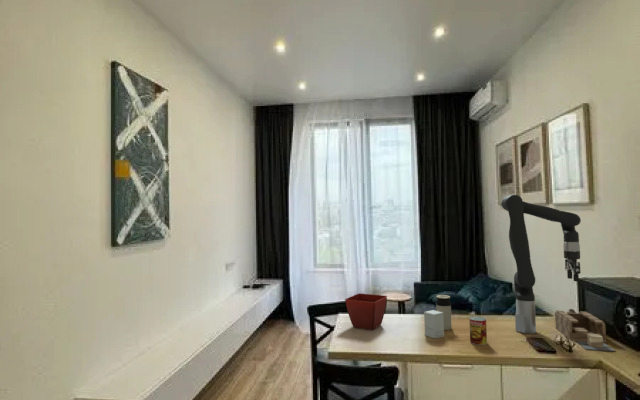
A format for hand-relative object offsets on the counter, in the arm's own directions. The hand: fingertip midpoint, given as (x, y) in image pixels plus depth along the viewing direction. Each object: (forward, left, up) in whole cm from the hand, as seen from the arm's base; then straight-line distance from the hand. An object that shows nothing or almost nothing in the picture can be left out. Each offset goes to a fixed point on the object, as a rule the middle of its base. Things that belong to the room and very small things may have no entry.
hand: (573, 279), depth 209 cm
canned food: (-59, +9, -28) cm, 66 cm away
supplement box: (-72, +27, -28) cm, 82 cm away
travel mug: (-58, +36, -28) cm, 74 cm away
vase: (+12, +10, -28) cm, 32 cm away
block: (-13, -19, -28) cm, 36 cm away
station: (-7, -10, -28) cm, 31 cm away
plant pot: (-96, +58, -28) cm, 116 cm away
